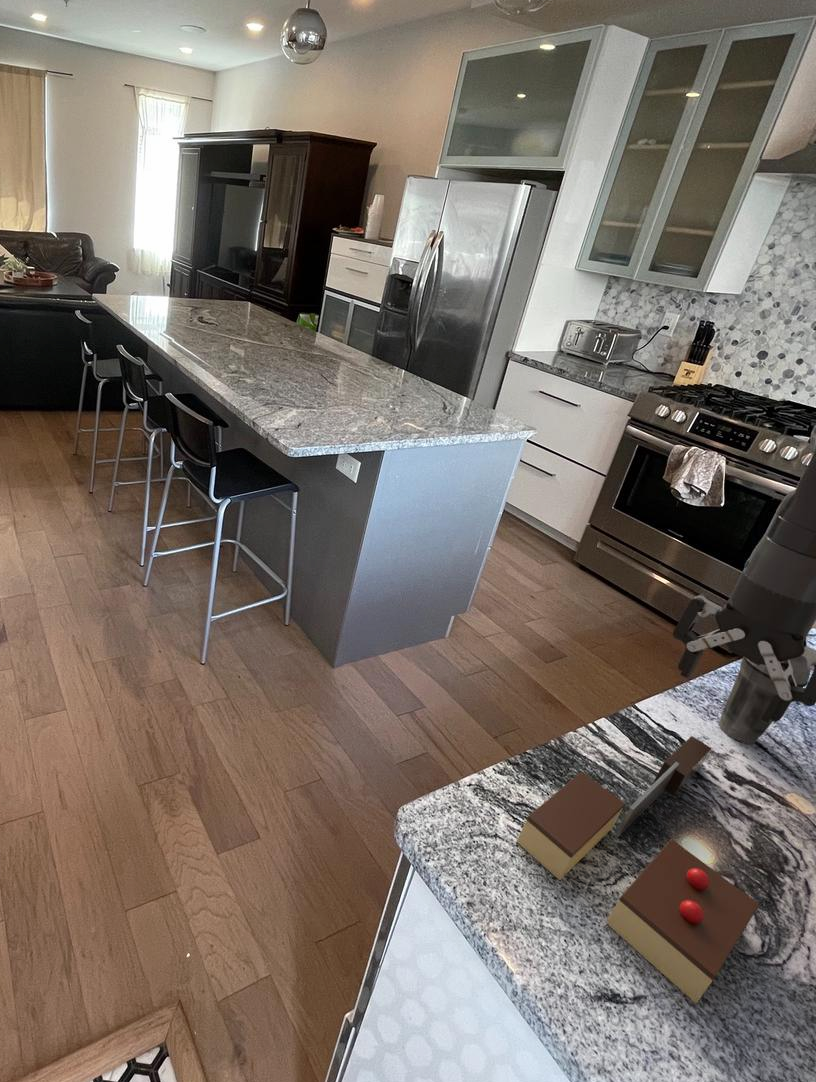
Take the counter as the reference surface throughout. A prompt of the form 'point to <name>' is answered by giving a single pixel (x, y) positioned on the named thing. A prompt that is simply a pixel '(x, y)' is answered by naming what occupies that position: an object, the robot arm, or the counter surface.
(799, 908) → the counter surface
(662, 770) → the knife
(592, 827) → the cake slice
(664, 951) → the sheet cake
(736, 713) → the beverage cup
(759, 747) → the counter surface
